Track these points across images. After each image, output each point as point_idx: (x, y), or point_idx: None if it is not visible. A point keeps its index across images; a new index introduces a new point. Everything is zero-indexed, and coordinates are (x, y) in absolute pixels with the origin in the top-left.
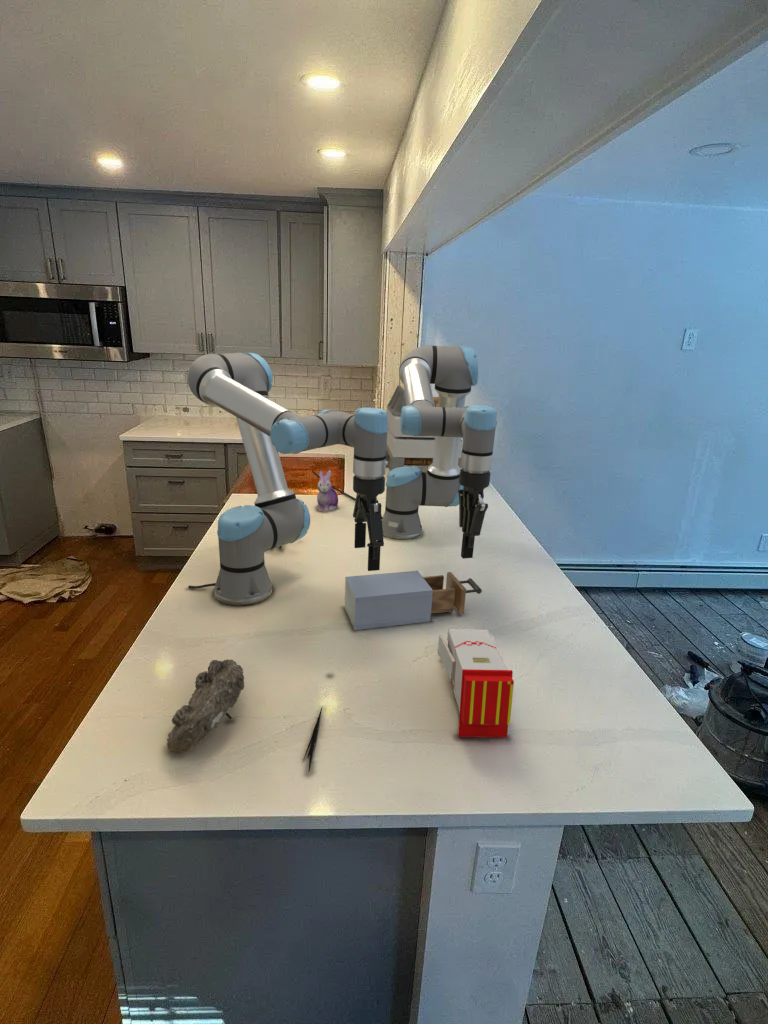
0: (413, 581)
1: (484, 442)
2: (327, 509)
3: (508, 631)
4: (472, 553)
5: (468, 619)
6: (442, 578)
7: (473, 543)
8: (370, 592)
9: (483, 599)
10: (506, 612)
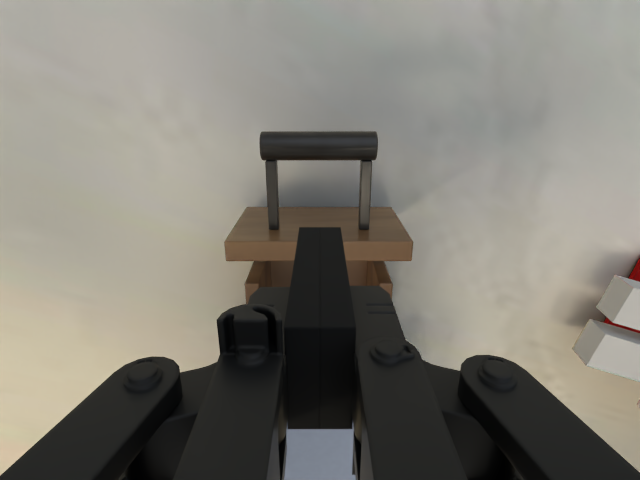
0: (322, 435)
1: None
2: None
3: (534, 81)
4: (342, 243)
5: (412, 193)
6: (259, 284)
7: (392, 310)
8: None
9: (282, 64)
10: (407, 12)
